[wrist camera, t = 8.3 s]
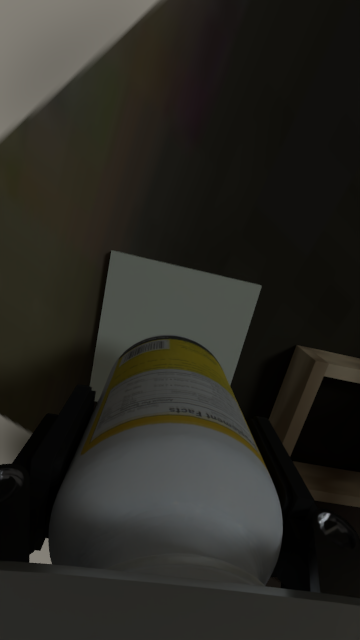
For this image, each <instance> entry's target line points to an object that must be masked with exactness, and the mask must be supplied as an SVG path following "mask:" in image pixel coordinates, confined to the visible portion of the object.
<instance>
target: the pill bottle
mask: <svg viewBox="0 0 360 640" xmlns="http://www.w3.org/2000/svg"><path fill="white" fill-rule="evenodd" d="M282 535H283V520H282V511H281V506H280V501H279V498H278V495H277V492H276V489H275V486H274V484H273V482H272V479H271V477H270V474H269V472H268V470H267V467H266V465H265V463H264V461H263V458H262V456H261V454H260V452H259V450H258V447H257V445H256V443H255V441H254V438H253V436H252V434H251V432H250V429H249V427H248V425H247V423H246V420H245V418H244V416H243V414H242V411H241V409H240V407H239V405H238V403H237V400H236V398H235V396H234V394H233V392H232V389H231V387H230V385H229V383H228V381H227V378H226V376H225V374H224V371H223V369H222V367H221V366H220V364H219V362H218V361H217V359H216V358H215V357H214V355H213V354H212V353H211V352H210V351H209V350H208V349H207V348H205V347H204V346H202V345H201V344H199V343H198V342H196V341H194V340H192V339H189V338H186V337H182V336H176V335H158V336H153V337H150V338H146V339H144V340H141V341H139V342H137V343H135V344H134V345H132V346H131V347H129V348H128V349H127V350H126V351H125V352H124V353H123V354H122V355H121V356H120V357H119V358H118V359H117V361H116V362H115V364H114V366H113V367H112V369H111V372H110V374H109V376H108V379H107V381H106V384H105V386H104V388H103V391H102V393H101V396H100V398H99V400H98V402H97V404H96V407H95V409H94V411H93V413H92V416H91V418H90V420H89V422H88V425H87V427H86V429H85V432H84V434H83V436H82V439H81V441H80V443H79V446H78V448H77V450H76V452H75V455H74V457H73V459H72V461H71V464H70V466H69V468H68V471H67V473H66V475H65V477H64V480H63V482H62V484H61V486H60V489H59V491H58V493H57V496H56V499H55V502H54V505H53V508H52V512H51V517H50V523H49V552H50V558H51V562H52V564H53V565H65V566H76V567H86V568H96V569H106V570H116V571H126V572H136V573H146V574H155V575H165V576H174V577H183V578H193V579H202V580H211V581H220V582H230V583H239V584H248V585H257V586H265V585H266V583H267V582H268V580H269V578H270V576H271V574H272V572H273V570H274V568H275V565H276V563H277V560H278V557H279V553H280V549H281V544H282ZM265 587H266V586H265Z"/></svg>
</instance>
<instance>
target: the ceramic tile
mask: <svg viewBox="0 0 360 640" xmlns="http://www.w3.org/2000/svg"><path fill="white" fill-rule="evenodd" d="M261 287H262V286H261V285H259V284H255V283H250V282H246V281H242V280H238V279H233V278H229V277H225V276H221V275H216V274H212V273H208V272H204V271H199V270H195V269H191V268H186V267H182V266H178V265H174V264H169V263H165V262H161V261H157V260H152V259H148V258H144V257H140V256H135V255H131V254H127V253H123V252H118V251H114V250H112V251H111V256H110V262H109V269H108V275H107V281H106V287H105V294H104V300H103V306H102V312H101V319H100V325H99V331H98V337H97V344H96V350H95V356H94V362H93V369H92V375H91V381H90V387H92V391H96V395H95V401H96V402H98V400H99V398H100V396H101V393H102V391H103V388H104V386H105V384H106V381H107V379H108V376H109V374H110V372H111V369H112V367H113V366H114V364H115V362H116V361H117V359H118V358H119V357H120V356H121V355H122V354H123V353H124V352H125V351H126V350H127V349H128V348H129V347H131V346H132V345H134V344H135V343H137V342H139V341H141V340H144V339H146V338H150V337H153V336H158V335H176V336H182V337H186V338H189V339H192V340H194V341H196V342H198V343H199V344H201V345H202V346H204V347H205V348H207V349H208V350H209V351H210V352H211V353H212V354H213V355H214V357H215V358H216V359H217V361H218V362H219V364H220V366H221V367H222V369H223V371H224V374H225V376H226V378H227V381H228V383H229V385H230V384H231V381H232V378H233V375H234V372H235V369H236V365H237V362H238V359H239V356H240V353H241V350H242V346H243V343H244V340H245V337H246V334H247V331H248V328H249V324H250V321H251V318H252V315H253V312H254V309H255V305H256V302H257V299H258V296H259V293H260V290H261Z"/></svg>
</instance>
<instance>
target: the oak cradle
mask: <svg viewBox="0 0 360 640" xmlns="http://www.w3.org/2000/svg"><path fill="white" fill-rule="evenodd" d="M324 376H326V377H331V378H335V379H340V380H345V381H350V382H355V383H360V359H359V358H355V357H350V356H345V355H341V354H336V353H331V352H327V351H322V350H317V349H313V348H308V347H303V346H299V345H296V348H295V351H294V353H293V356H292V359H291V361H290V364H289V367H288V369H287V372H286V375H285V377H284V380H283V383H282V385H281V388H280V391H279V393H278V396H277V399H276V401H275V404H274V407H273V409H272V412H271V415H270V417H269V421H270V423H271V424H272V426H273V428H274V430H275V431H276V433H277V435H278V437H279V439H280V440H281V442H282V444H283V446H284V447H285V449H286V451H287V453H288V454H289V456H291V453H292V451H293V449H294V446H295V444H296V441H297V439H298V437H299V434H300V432H301V429H302V427H303V425H304V422H305V420H306V417H307V415H308V413H309V410H310V408H311V405H312V403H313V401H314V398H315V396H316V394H317V391H318V389H319V386H320V384H321V382H322V379H323V377H324ZM293 463H294V465H295V467H296V468H297V470H298V472H299V474H300V475H301V477H302V479H303V481H304V483H305V484H306V486H307V488H308V490H309V491H310V493H311V495H312V497H313V498H314V500H316V501H322V502H329V503H335V504H342V505H348V506H355V507H360V472H355V471H349V470H343V469H337V468H331V467H325V466H319V465H313V464H307V463H301V462H295V461H293Z"/></svg>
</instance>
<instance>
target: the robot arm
mask: <svg viewBox="0 0 360 640" xmlns="http://www.w3.org/2000/svg"><path fill="white" fill-rule="evenodd" d="M95 395H96V391H92V387H90V386H85V385H79V384H78V385H77V386H76V388H75V390H74V391H73V393H72V394H71V396H70V398H69V399H68V401H67V402H66V404H65V406H64V407H63V409H62V410H61V412H60V414H59V415H56V414H50V413H48V414H46V416H45V417H44V418H43V420H42V421H41V423H40V424H39V425H38V427H37V428H36V430H35V431H34V433H33V434H32V436H31V437H30V439H29V440H28V441H27V443H26V444H25V446H24V447H23V449H22V450H21V451H20V453H19V454H18V456H17V457H16V459H15V460H14V462H13V463H12V464H2V465H0V640H360V538H359V536H358V534H357V533H356V531H355V530H354V528H353V527H352V526H351V525H350V524H349V523H348V522H347V521H346V520H345V519H344V518H342V517H341V516H340V515H338V514H336V513H335V512H333V511H330V510H328V509H322V508H320V509H318V508H317V506H316V504H315V503H314V498H313V497H312V495H311V493H310V491H309V490H308V488H307V486H306V484H305V483H304V481H303V479H302V477H301V475H300V474H299V472H298V470H297V468H296V467H295V465H294V463H293V461H292V460H291V458H290V456H289V454H288V453H287V451H286V449H285V447H284V446H283V444H282V442H281V440H280V439H279V437H278V435H277V433H276V431H275V430H274V428H273V426H272V424H271V423H270V421H269V419H268V418H264V417H258V416H254V417H253V418H252V419H249V420H248V423H247V425H248V427H249V429H250V432H251V434H252V436H253V438H254V441H255V443H256V445H257V447H258V450H259V452H260V454H261V456H262V458H263V461H264V463H265V465H266V467H267V470H268V472H269V474H270V477H271V479H272V482H273V484H274V486H275V489H276V492H277V495H278V498H279V501H280V506H281V511H282V520H283V535H282V544H281V549H280V553H279V557H278V560H277V563H276V565H275V568H274V570H273V572H272V574H271V577H278V579H279V580H280V581H281V588H274V587H265V586H257V585H248V584H239V583H230V582H220V581H211V580H202V579H193V578H183V577H174V576H165V575H155V574H146V573H136V572H126V571H116V570H106V569H96V568H86V567H76V566H65V565H53V564H40V563H29V555H30V554H31V553H33V552H34V550H39V551H40V550H41V548H42V545H43V543H44V540H45V538H49V523H50V517H51V512H52V508H53V505H54V502H55V499H56V496H57V493H58V491H59V489H60V486H61V484H62V482H63V480H64V477H65V475H66V473H67V471H68V468H69V466H70V464H71V461H72V459H73V457H74V455H75V452H76V450H77V448H78V446H79V443H80V441H81V439H82V436H83V434H84V432H85V429H86V427H87V425H88V422H89V420H90V418H91V416H92V413H93V407H94V401H95Z"/></svg>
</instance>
